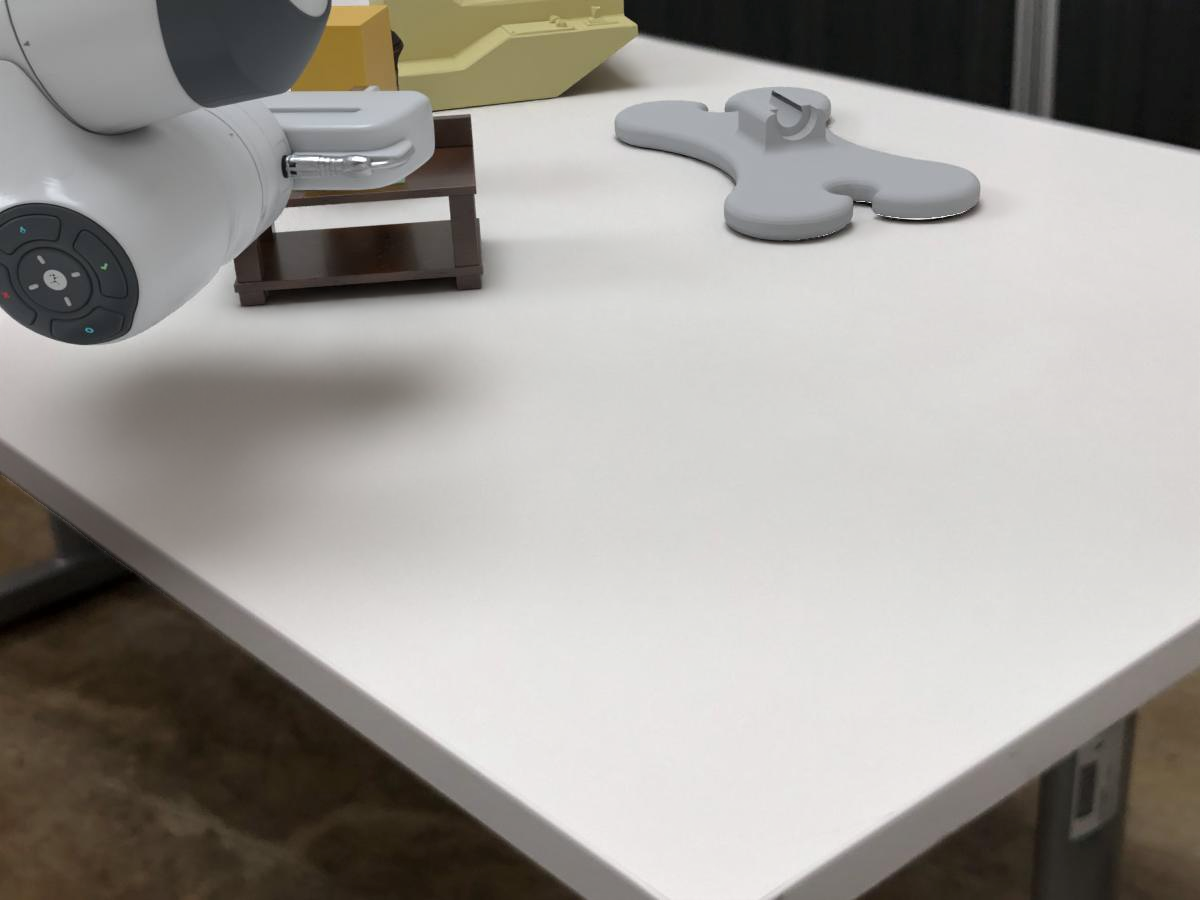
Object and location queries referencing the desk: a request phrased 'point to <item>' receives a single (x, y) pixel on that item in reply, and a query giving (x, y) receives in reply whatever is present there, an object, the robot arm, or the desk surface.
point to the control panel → (502, 46)
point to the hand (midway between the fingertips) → (292, 99)
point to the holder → (795, 163)
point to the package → (352, 52)
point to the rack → (378, 231)
